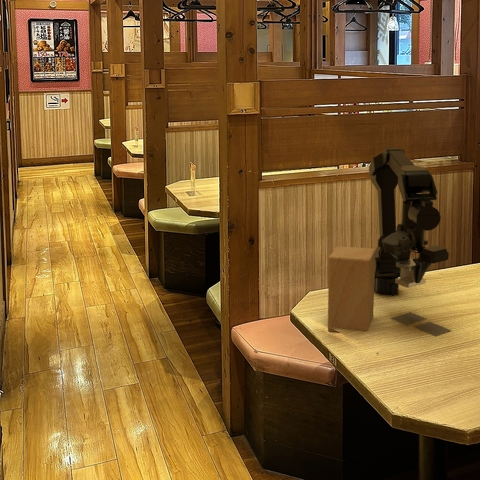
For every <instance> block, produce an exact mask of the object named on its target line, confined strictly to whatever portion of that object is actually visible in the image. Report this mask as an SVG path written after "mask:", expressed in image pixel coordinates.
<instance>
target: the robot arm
mask: <svg viewBox="0 0 480 480" xmlns="http://www.w3.org/2000/svg"><path fill="white" fill-rule="evenodd" d="M371 159H372V160H371V161H370V163H369V166H368V173H369V175H370V177H371V183H372V185H373V186H374V188H375V189H376V190H377V205H378V230H379V235H378V236H379V238H378V239H377V247H376V248H375V278H374V292H375V293H376V294H379V295H382V296H383V295H384V296H390V297H394V296H398V295H399V284H396V283H395V279H397V278H400V273H401V268H399V267H396V262H400V261H404V260H408V259H412V258H411V254H412V252H413V253H416V254H418V255H417V257H413V258H414V259H412V260H413V261H414V263H415V264H416V270H415V280H416V283H420V281H421V280H422V278H424V276H425V274H426V272H427V271H428V269H429V267H430V266H431V265H432V264H438V263H441V262H445V261H448V260H449V255H450V253H449V252H450V251H449V250H448V249H447V248H446V247H443V246H440V245H439V246H438V245H432V246H428V244H429V240H427V239H425V237H426V236H425V235H426V234H425V233H426V231H432V230H434V229H436V228H437V227H438V226H439V225H440V222H441V220H442V219H441V214H440V211H439V210H438V209H437V208H435V207H434V201H437V199H438V198H437V194H438V189H437V186H436V183H435V179H434V177H433V174H432V173H431V172H430V170H429V169H427V168H425V167H423V166H418V165H416V164H414V162H413V161H412V160H411V159H410V158H409V157H408V156H407V155H406V154H405V151H404V149H403V148H400V147H394V148H385V149H383V151H382V152H381V153H380V154H378V155H375V156H374V157H372V158H371ZM397 187H398V190H399V193H400V196H401V200H402V203H401V204H402V205H401V222H400V223H398V224H397V222H396V221H397V220H396V219H397V217H396V195H395V193H396V192H395V191H396V188H397ZM426 245H427V247H426Z"/></svg>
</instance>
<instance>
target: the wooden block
mask: <svg viewBox="0 0 480 480" xmlns="http://www.w3.org/2000/svg"><path fill="white" fill-rule="evenodd" d="M375 250H376V248H367V247H355V246H343V245H342V246H341V245H340V246H339V245H337V246H336V247H335V248H334V249H333V251H332V253H330V255H329V257H328V288H327V289H328V291H327V292H328V293H327V295H328V296H327V297H328V298H327V299H328V300H327V301H328V302H327V306H328V307H327V331H328V333H336V334H341V332H340V331H338V330H336V329H341V330H350V331H357V332H358V331H360V332H369V329H370V326H371V324H372V322H373V318H374V309H375V308H374V306H375V305H374V302H375V291H374V278H375Z"/></svg>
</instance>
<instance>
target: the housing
mask: <svg viewBox="0 0 480 480" xmlns="http://www.w3.org/2000/svg"><path fill="white" fill-rule="evenodd" d="M414 258H415V257H412V258H410V259H408V260H404V261H400V262H396V267H399V268H401V273H400V277H398V278H397V279H395V283H396V284H399V285H400V286H402V287H404V288H408V289H410V288H413V287H416V286H419V285H420V286H421V285H424V284H426V282H427V281H426V278H424V277H423V278H422V280H421V281H420V283H416V280H415V270H416V264H415V263H414V261H413V260H412V259H414Z"/></svg>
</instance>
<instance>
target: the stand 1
mask: <svg viewBox="0 0 480 480" xmlns="http://www.w3.org/2000/svg"><path fill="white" fill-rule="evenodd" d="M390 320H393V321H396V322H398V323H400V324H401V325H404V326H410V325H413V324H416V323H420V322H423V321H425V320H427V318H425V317H423V316H421V315H419V314H416V313H414V312H412V311H409V312H405V313H402V314H400V315H396V316H392V317H390Z"/></svg>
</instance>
